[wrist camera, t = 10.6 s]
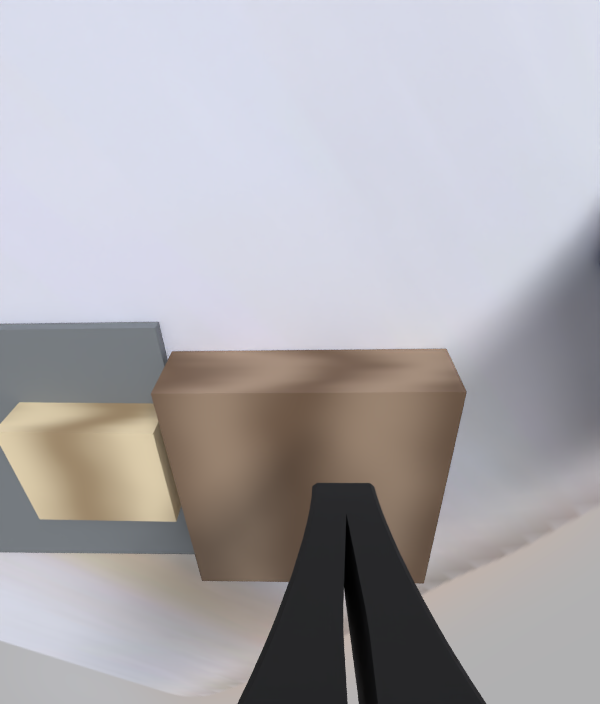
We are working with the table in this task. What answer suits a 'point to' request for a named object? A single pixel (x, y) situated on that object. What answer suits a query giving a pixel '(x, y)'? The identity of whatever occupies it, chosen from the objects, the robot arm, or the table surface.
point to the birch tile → (91, 461)
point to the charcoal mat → (79, 387)
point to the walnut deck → (304, 447)
